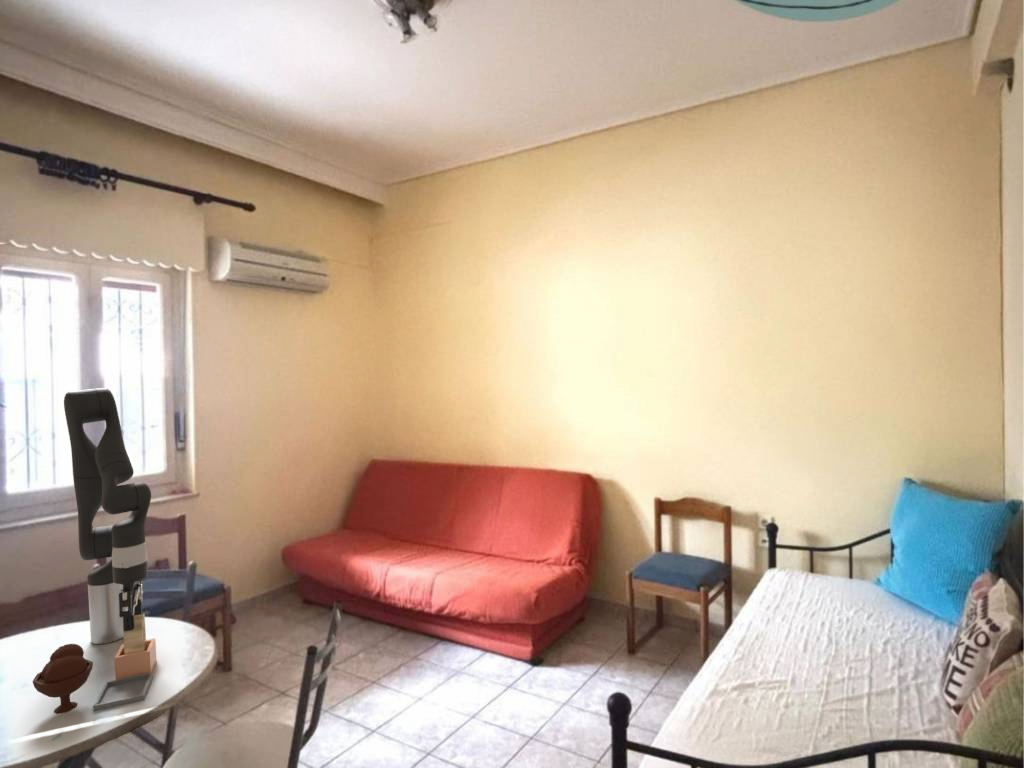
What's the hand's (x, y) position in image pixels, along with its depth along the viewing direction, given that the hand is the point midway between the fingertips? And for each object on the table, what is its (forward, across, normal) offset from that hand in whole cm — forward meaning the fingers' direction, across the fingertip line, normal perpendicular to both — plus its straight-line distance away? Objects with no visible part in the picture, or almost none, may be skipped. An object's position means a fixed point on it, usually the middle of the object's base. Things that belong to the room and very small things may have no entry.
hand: (133, 623), depth 146 cm
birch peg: (+13, 0, 0) cm, 13 cm away
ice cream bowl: (+14, +11, -12) cm, 21 cm away
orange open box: (+14, 0, 0) cm, 14 cm away
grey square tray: (+14, +10, 0) cm, 17 cm away
